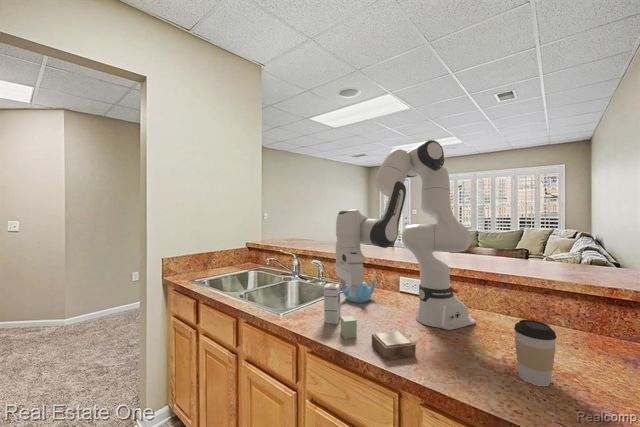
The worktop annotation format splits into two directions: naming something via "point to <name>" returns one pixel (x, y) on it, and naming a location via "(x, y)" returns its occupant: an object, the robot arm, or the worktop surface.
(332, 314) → the syrup box
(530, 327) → the coffee cup
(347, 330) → the sage block
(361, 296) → the teapot
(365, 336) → the worktop surface
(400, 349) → the plinth
